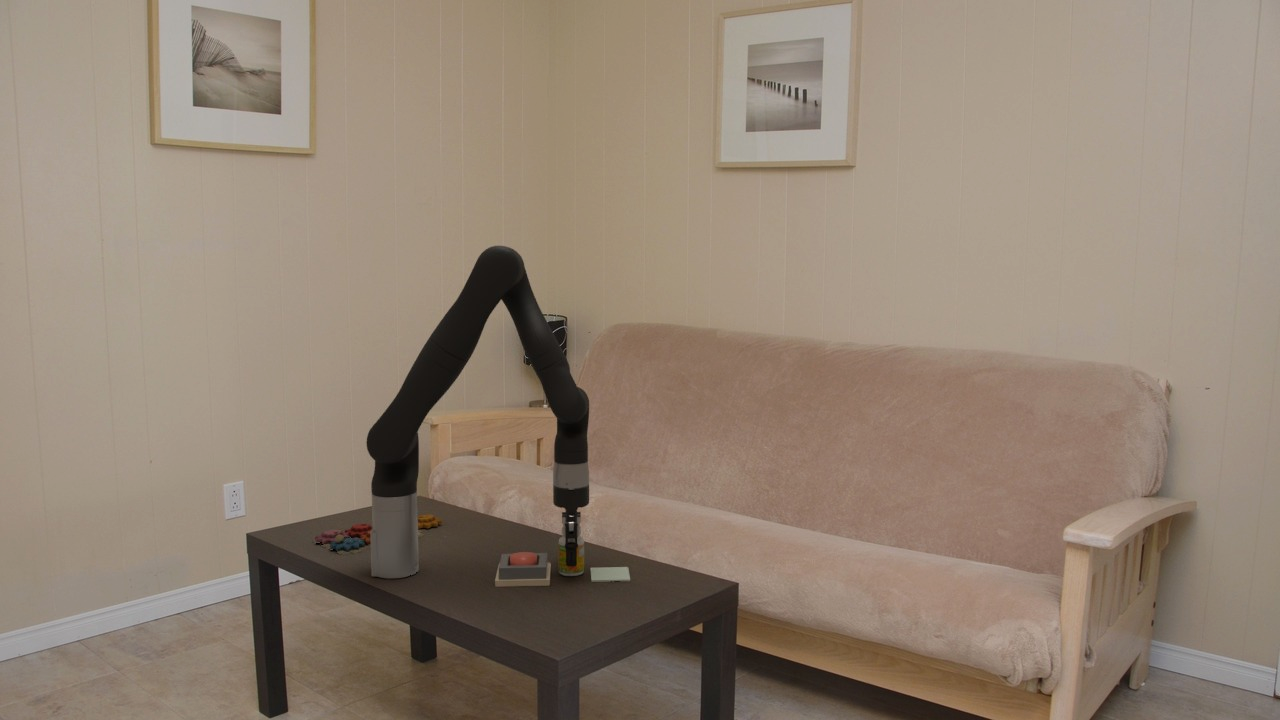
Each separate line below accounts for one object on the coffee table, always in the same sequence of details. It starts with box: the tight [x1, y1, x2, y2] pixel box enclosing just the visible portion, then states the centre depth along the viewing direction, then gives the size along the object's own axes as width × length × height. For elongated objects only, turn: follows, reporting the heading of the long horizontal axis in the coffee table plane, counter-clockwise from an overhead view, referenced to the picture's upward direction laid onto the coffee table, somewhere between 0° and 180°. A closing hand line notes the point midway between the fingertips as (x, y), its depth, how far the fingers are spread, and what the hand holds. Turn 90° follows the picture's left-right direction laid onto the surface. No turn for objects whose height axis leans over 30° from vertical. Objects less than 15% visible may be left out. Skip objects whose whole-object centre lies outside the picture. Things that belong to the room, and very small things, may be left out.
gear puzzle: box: [314, 514, 443, 553], centre depth 229 cm, size 31×16×4 cm, turn 134°
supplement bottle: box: [558, 526, 585, 577], centre depth 202 cm, size 5×5×10 cm
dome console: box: [494, 552, 552, 588], centre depth 200 cm, size 11×11×4 cm
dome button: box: [510, 551, 537, 566], centre depth 199 cm, size 6×6×3 cm
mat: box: [590, 566, 631, 583], centre depth 201 cm, size 8×8×1 cm
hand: (571, 560), depth 202 cm, fingers closed on supplement bottle, 5 cm apart
